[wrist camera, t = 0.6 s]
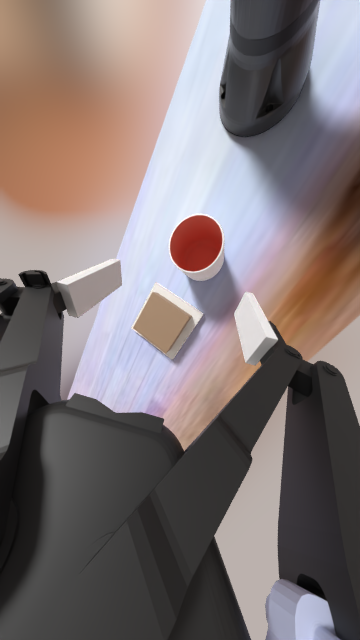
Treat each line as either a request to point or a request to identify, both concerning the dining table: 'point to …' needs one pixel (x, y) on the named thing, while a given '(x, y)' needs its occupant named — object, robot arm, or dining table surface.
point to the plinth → (184, 306)
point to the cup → (197, 247)
